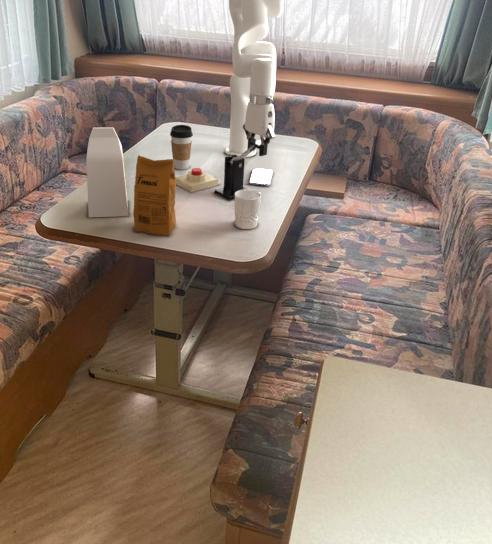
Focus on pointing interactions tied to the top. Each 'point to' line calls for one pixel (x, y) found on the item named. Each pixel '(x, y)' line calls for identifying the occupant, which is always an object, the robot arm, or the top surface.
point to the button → (196, 171)
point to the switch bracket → (232, 178)
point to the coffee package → (154, 196)
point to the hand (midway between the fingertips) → (257, 152)
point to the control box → (196, 181)
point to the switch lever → (245, 153)
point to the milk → (106, 174)
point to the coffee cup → (181, 146)
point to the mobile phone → (261, 177)
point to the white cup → (247, 208)
